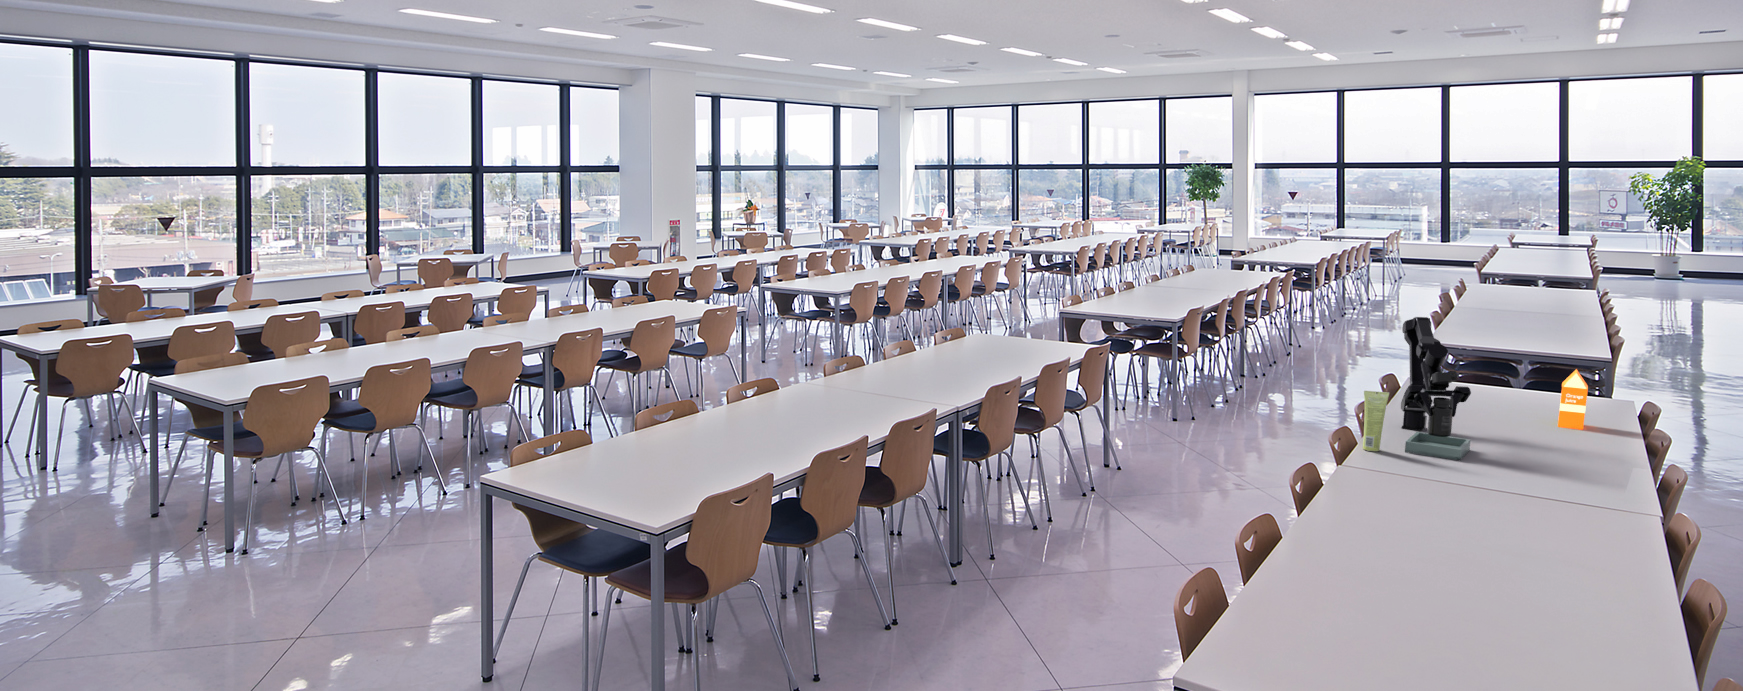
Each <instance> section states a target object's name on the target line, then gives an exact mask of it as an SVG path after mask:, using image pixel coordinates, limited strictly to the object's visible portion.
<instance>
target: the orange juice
mask: <svg viewBox="0 0 1743 691" xmlns="http://www.w3.org/2000/svg"><path fill="white" fill-rule="evenodd" d="M1588 390H1589V386H1588V384H1587V382H1586V381H1585V380H1584V378H1583V377H1582V375H1581V374H1580V372H1579V370H1578V368H1576V369H1575V370H1574V371H1573V372H1572V373H1570V374H1569V376H1568V377H1566V379H1565V380H1563V381H1562V383H1561V392H1560V395H1559V396H1560V401H1559V402H1560V403H1559V411H1558V420H1557V428H1564V429H1571V430H1572V429H1573V430H1574V429H1575V430H1580V431H1581V430H1582V431H1583V430H1584V424H1585V416H1586V415H1585V414H1586V409H1587V401H1588Z"/></svg>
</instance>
